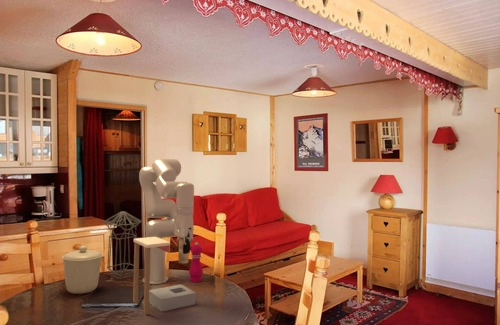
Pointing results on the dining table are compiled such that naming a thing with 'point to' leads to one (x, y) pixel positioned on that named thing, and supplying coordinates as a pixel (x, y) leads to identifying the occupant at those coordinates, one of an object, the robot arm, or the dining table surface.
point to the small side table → (146, 265)
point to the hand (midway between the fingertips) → (183, 251)
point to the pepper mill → (196, 264)
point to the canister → (82, 270)
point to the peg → (182, 257)
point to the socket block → (172, 297)
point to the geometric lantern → (120, 240)
